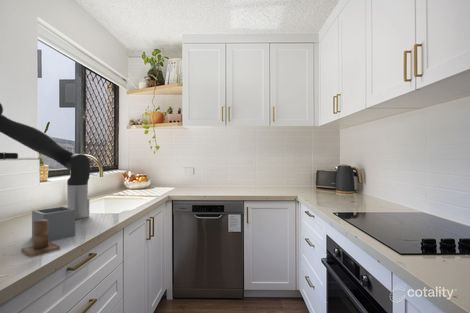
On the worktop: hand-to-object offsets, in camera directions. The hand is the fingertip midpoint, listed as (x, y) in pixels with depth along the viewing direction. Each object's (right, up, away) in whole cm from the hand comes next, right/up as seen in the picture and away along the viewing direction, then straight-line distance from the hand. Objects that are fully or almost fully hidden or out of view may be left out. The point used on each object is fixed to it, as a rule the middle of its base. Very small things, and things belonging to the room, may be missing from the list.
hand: (11, 155), depth 93 cm
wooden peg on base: (+14, -32, -4) cm, 35 cm away
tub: (+7, -32, +11) cm, 35 cm away
